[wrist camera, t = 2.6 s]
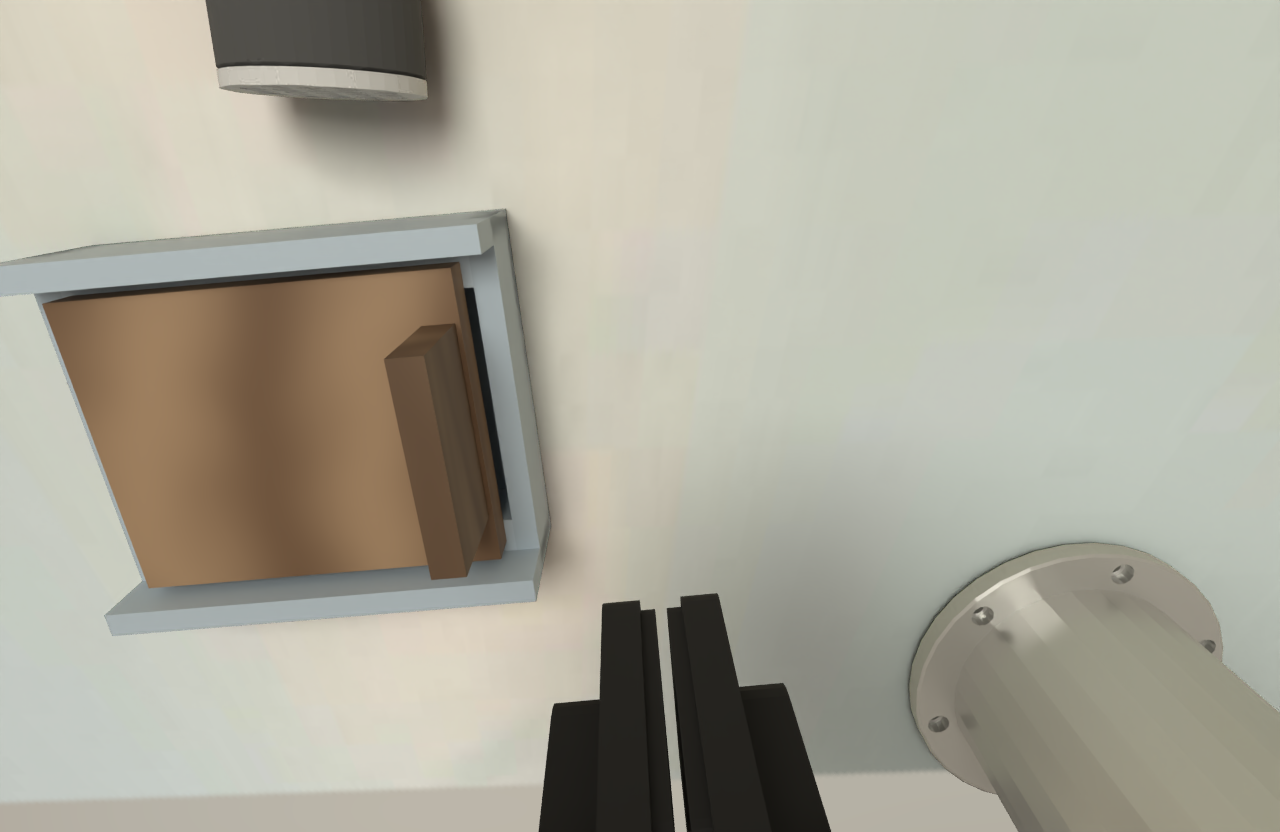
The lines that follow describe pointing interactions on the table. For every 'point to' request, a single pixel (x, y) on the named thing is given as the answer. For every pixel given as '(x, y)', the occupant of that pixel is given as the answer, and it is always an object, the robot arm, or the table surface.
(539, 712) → the table surface
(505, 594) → the light grey open box
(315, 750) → the table surface
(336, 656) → the table surface
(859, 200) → the table surface
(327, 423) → the cover plate
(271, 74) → the flashlight
